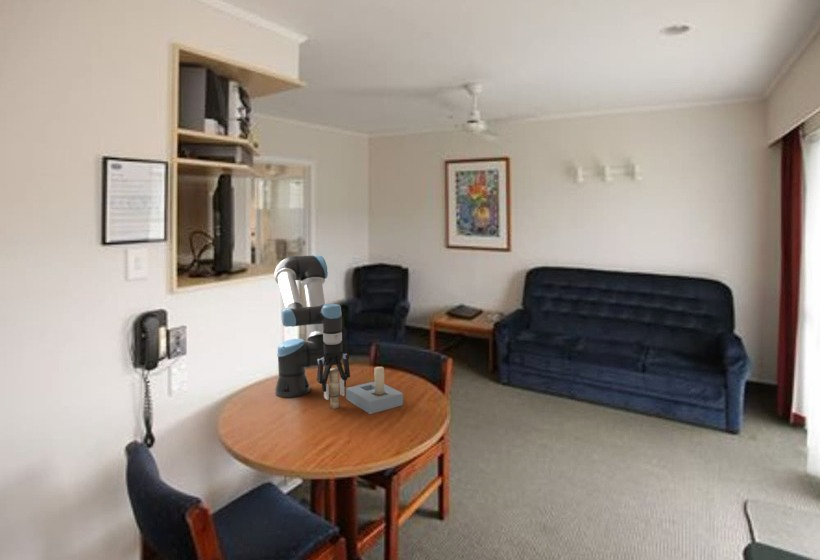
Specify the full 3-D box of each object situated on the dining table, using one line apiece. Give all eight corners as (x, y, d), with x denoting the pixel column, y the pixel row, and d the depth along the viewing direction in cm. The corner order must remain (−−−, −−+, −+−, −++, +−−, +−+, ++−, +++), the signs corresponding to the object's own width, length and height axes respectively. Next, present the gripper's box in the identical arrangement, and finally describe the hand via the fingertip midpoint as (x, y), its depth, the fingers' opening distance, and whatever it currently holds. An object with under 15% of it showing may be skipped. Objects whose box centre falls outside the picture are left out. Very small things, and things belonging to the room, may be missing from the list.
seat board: (346, 399, 208) (345, 363, 206) (377, 391, 217) (377, 356, 215) (370, 414, 192) (369, 375, 190) (403, 405, 201) (402, 367, 199)
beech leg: (328, 406, 200) (326, 369, 198) (336, 404, 202) (335, 367, 200) (332, 409, 196) (331, 371, 194) (341, 407, 199) (340, 370, 197)
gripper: (314, 348, 187) (316, 405, 190) (358, 340, 198) (359, 394, 201) (306, 344, 193) (308, 399, 196) (349, 336, 204) (350, 389, 207)
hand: (334, 396), depth 199 cm, fingers open, 6 cm apart
